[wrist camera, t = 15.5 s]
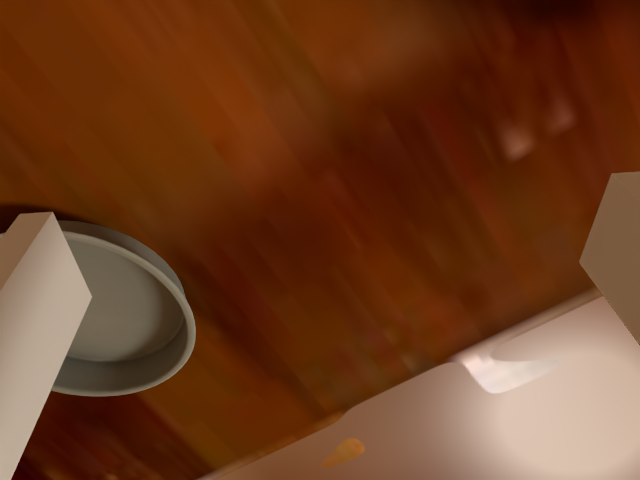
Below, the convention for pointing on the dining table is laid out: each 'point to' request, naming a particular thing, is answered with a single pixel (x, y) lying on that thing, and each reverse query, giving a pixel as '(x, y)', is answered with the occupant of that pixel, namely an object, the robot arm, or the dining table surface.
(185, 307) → the cake pan
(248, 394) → the dining table surface
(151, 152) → the dining table surface
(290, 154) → the dining table surface
